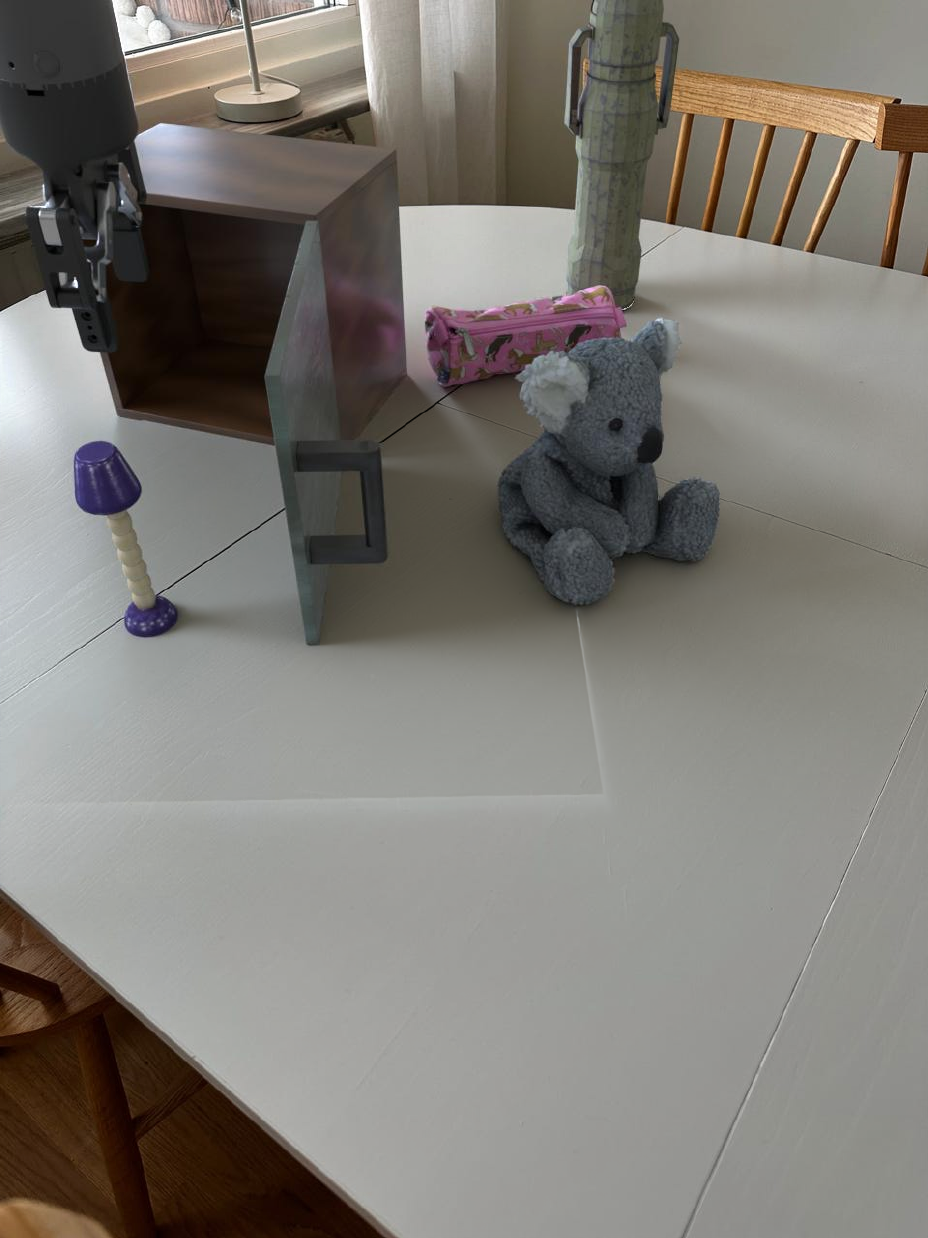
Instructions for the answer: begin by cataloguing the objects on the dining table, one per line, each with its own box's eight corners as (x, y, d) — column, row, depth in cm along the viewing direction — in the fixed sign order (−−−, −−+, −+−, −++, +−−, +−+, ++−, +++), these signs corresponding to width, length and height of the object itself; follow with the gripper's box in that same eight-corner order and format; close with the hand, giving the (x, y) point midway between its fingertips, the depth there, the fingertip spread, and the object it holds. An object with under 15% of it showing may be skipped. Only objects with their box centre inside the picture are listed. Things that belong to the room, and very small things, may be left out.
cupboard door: (401, 461, 97) (388, 219, 81) (391, 644, 78) (371, 374, 62) (332, 462, 97) (305, 220, 81) (306, 645, 78) (264, 375, 62)
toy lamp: (176, 639, 78) (127, 464, 67) (116, 646, 78) (56, 471, 67) (179, 600, 82) (132, 427, 71) (122, 606, 81) (66, 433, 70)
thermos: (543, 290, 126) (560, -32, 102) (627, 279, 128) (663, -38, 105) (568, 320, 120) (593, -16, 96) (657, 307, 122) (701, -23, 99)
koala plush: (568, 626, 79) (588, 415, 66) (452, 514, 91) (449, 314, 77) (726, 554, 86) (773, 350, 73) (600, 459, 97) (621, 266, 84)
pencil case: (440, 404, 105) (438, 327, 99) (420, 364, 112) (417, 289, 106) (626, 378, 109) (635, 302, 103) (596, 340, 116) (603, 267, 110)
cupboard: (341, 459, 97) (315, 215, 81) (117, 415, 104) (51, 180, 87) (407, 375, 110) (396, 148, 94) (203, 340, 116) (160, 122, 100)
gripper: (23, 2, 58) (91, 255, 71) (-65, 100, 49) (30, 373, 61) (150, 8, 58) (195, 260, 71) (86, 108, 49) (151, 378, 61)
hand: (119, 312), depth 66 cm, fingers open, 8 cm apart
